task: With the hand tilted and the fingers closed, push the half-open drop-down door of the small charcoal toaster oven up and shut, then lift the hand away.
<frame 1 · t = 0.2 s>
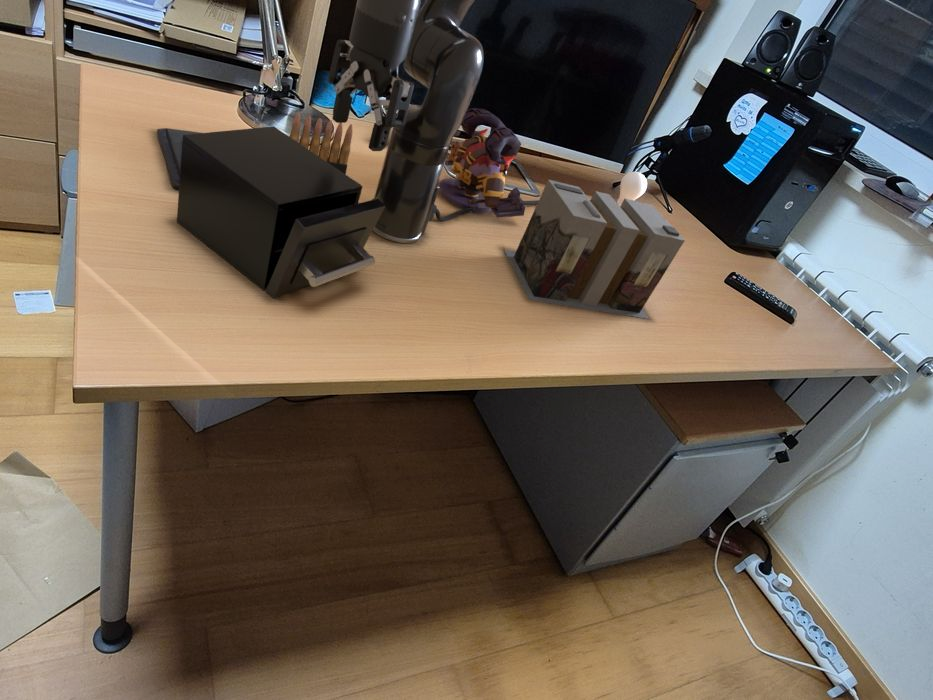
hand: (357, 135, 87), 17 cm above the table, tool pointing down, fingers open, 8 cm apart
figurine: (470, 200, 127), on the table
ammunition clip: (311, 185, 109), on the table
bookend: (575, 284, 114), on the table
oven door: (335, 257, 82), point 6 cm above the table, hinge at 12.3°
oven: (262, 244, 90), on the table
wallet: (213, 166, 103), on the table
lightbulb: (617, 215, 151), on the table
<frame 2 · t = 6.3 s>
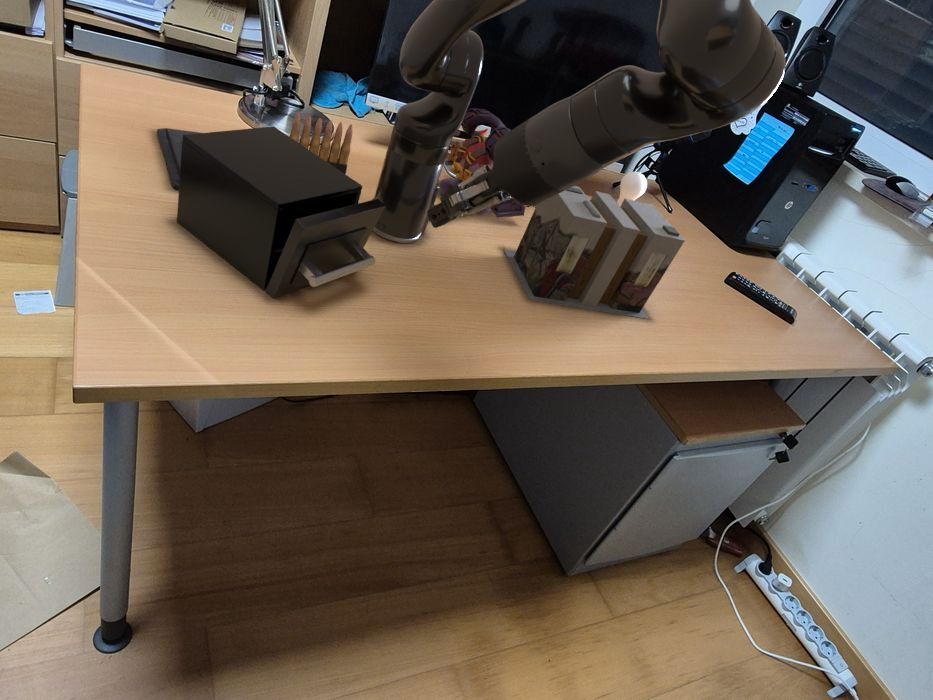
hand: (434, 218, 71), 19 cm above the table, tool tilted 40°, fingers closed
nothing on the table moved.
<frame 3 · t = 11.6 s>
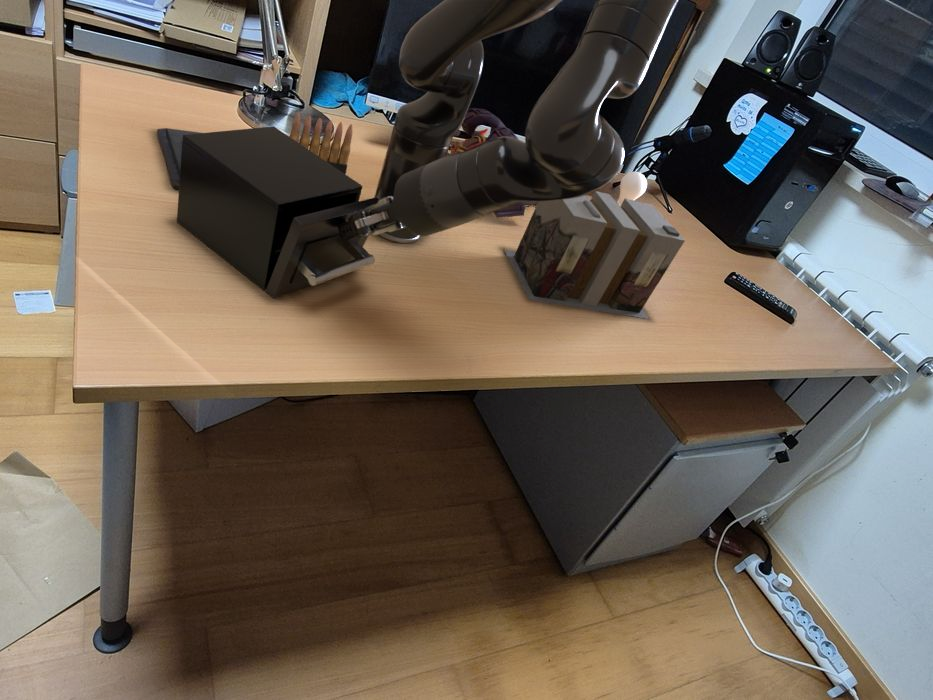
hand: (343, 232, 80), 10 cm above the table, tool tilted 45°, fingers closed
oven door: (335, 256, 82), point 6 cm above the table, hinge at 10.7°, touching gripper
everything else where it was.
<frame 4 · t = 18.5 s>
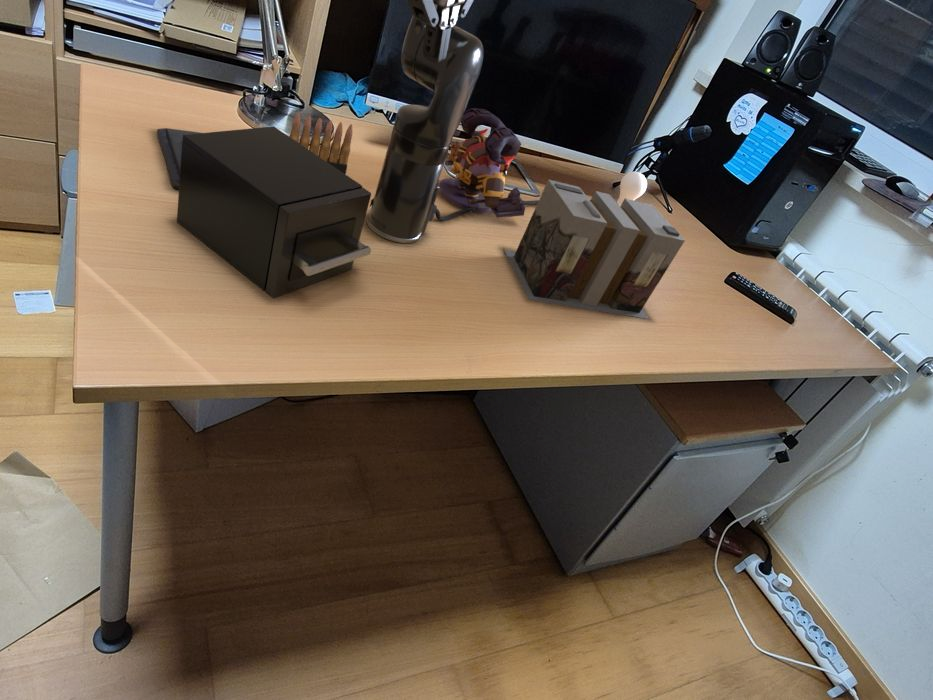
hand: (434, 58, 70), 33 cm above the table, tool pointing down, fingers closed
oven door: (329, 248, 82), point 7 cm above the table, hinge at -0.5°
everything else where it was.
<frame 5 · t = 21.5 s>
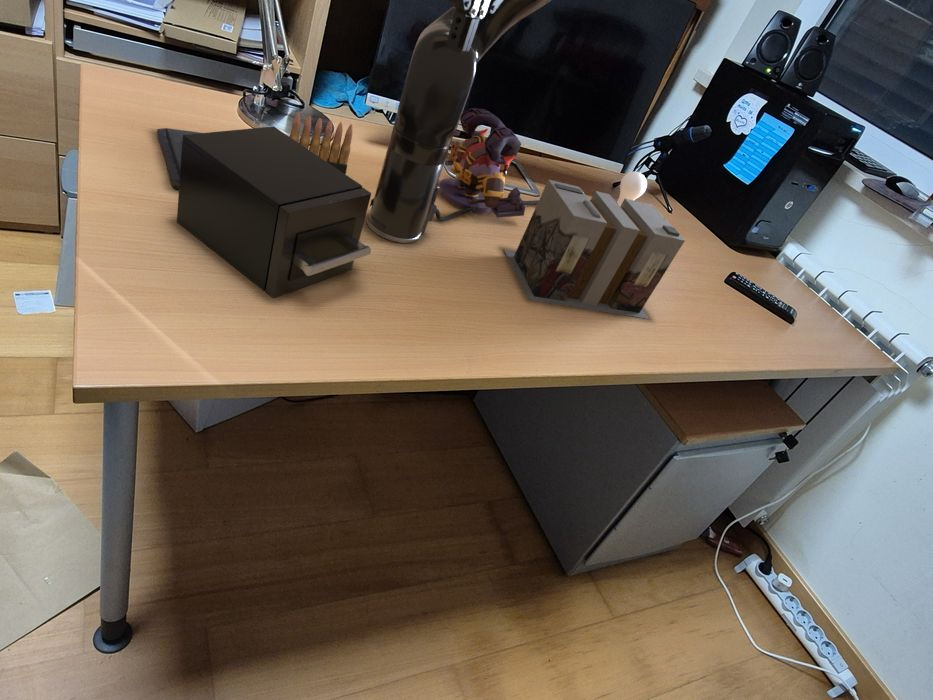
hand: (457, 50, 68), 35 cm above the table, tool pointing down, fingers closed
nothing on the table moved.
at the end: oven door at +0° (first picture: +12°) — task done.
